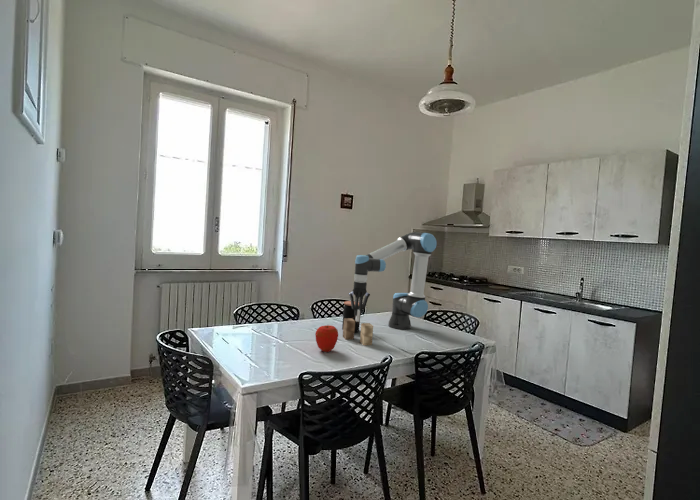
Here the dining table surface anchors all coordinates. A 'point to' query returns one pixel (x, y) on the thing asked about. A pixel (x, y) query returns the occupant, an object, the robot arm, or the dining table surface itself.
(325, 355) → the dining table surface
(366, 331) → the beech block
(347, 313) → the coffee jar
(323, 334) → the apple
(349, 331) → the walnut block
